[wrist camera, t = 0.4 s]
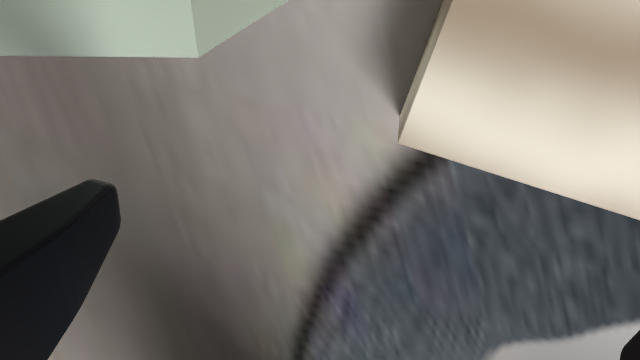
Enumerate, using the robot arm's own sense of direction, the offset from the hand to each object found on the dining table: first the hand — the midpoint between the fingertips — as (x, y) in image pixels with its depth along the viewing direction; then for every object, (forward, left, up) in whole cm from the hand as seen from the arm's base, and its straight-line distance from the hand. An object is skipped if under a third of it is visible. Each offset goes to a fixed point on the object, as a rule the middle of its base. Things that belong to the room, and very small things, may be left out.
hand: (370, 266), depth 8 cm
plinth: (+3, -6, -14) cm, 16 cm away
